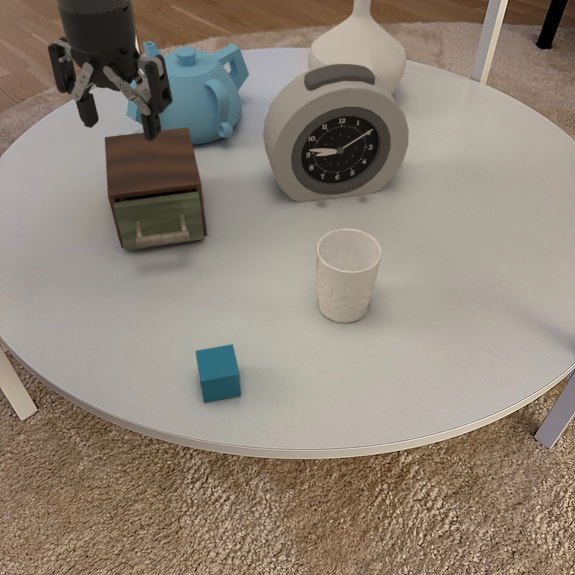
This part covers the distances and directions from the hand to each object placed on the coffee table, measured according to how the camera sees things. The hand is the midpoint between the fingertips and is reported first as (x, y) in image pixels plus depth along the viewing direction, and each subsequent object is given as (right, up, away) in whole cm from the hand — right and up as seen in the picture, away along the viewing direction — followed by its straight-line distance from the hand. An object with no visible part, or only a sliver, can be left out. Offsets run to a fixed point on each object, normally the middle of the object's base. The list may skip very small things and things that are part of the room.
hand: (122, 130), depth 75 cm
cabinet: (+1, -8, +18) cm, 20 cm away
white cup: (+28, -22, +5) cm, 36 cm away
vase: (+34, +18, +43) cm, 57 cm away
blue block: (+13, -31, -4) cm, 34 cm away
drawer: (+2, -10, +14) cm, 18 cm away
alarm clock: (+28, -3, +24) cm, 37 cm away
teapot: (+3, +11, +36) cm, 38 cm away
